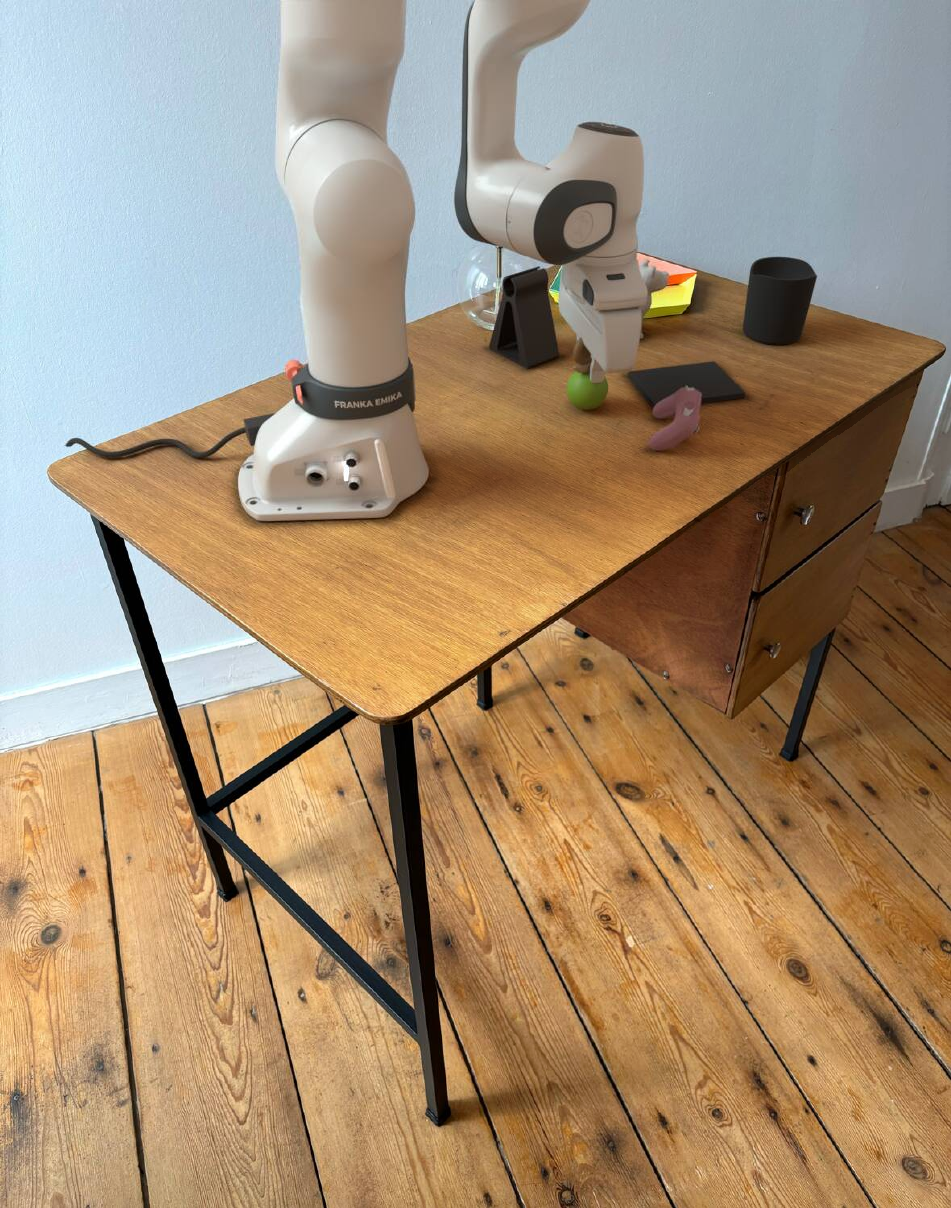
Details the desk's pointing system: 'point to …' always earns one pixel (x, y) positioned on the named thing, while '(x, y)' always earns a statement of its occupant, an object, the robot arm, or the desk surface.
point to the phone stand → (525, 320)
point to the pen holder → (778, 299)
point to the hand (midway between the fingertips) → (591, 374)
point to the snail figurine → (585, 381)
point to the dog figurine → (651, 284)
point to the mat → (686, 382)
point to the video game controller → (677, 418)
